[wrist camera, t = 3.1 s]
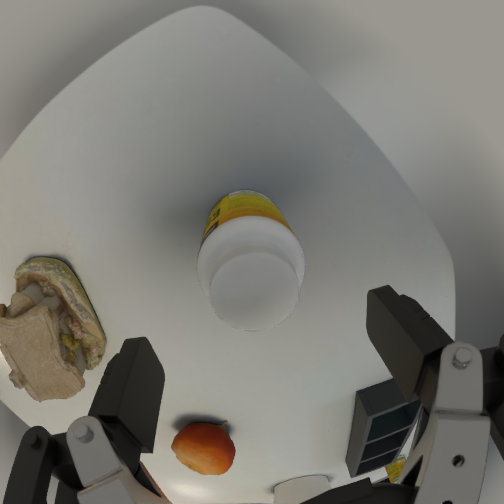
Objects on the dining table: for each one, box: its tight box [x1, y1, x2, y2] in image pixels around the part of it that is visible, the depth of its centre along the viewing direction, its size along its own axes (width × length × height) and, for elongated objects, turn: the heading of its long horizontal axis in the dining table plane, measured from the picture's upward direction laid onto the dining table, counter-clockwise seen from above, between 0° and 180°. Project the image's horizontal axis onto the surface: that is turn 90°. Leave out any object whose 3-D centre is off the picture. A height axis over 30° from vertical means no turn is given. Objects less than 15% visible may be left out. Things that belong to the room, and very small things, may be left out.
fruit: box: [171, 421, 236, 475], centre depth 29 cm, size 8×8×8 cm
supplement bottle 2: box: [385, 455, 406, 483], centre depth 41 cm, size 5×5×10 cm
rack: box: [346, 378, 422, 478], centre depth 34 cm, size 9×26×4 cm, turn 11°
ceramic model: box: [0, 257, 106, 402], centre depth 19 cm, size 14×11×10 cm
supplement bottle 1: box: [197, 190, 305, 331], centre depth 17 cm, size 6×6×10 cm
